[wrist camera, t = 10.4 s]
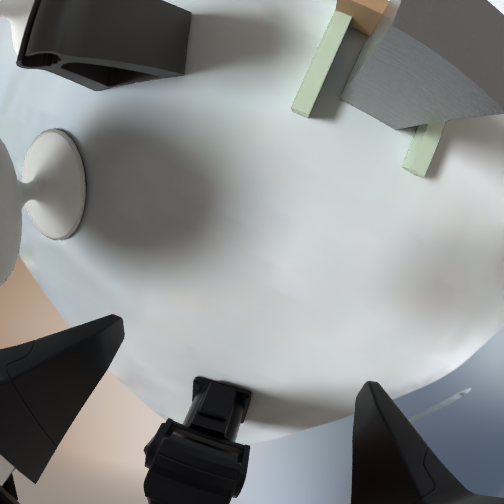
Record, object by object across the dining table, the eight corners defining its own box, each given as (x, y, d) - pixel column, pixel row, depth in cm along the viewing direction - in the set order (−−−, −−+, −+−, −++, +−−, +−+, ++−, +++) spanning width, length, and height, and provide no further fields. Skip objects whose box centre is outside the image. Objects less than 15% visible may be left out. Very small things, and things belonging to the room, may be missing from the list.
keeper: (414, 174, 17) (437, 181, 13) (292, 111, 17) (289, 101, 13) (452, 70, 13) (477, 59, 9) (339, 7, 13) (344, -18, 10)
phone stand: (193, 14, 15) (108, -59, 4) (185, 76, 17) (75, 27, 6) (106, 35, 16) (9, 6, 5) (97, 91, 19) (-12, 83, 8)
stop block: (395, 129, 16) (506, 113, 5) (339, 99, 16) (391, 25, 5) (414, 81, 14) (518, 29, 3) (360, 51, 14) (417, -47, 3)
